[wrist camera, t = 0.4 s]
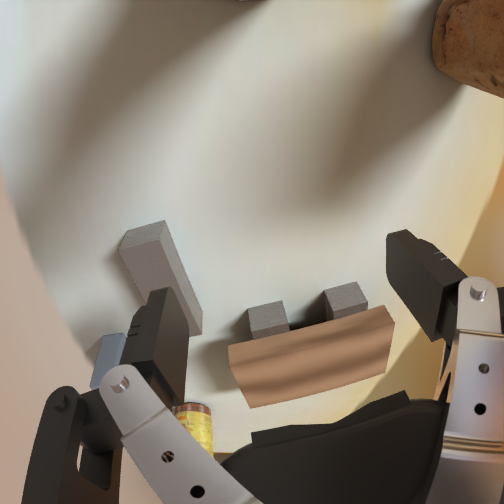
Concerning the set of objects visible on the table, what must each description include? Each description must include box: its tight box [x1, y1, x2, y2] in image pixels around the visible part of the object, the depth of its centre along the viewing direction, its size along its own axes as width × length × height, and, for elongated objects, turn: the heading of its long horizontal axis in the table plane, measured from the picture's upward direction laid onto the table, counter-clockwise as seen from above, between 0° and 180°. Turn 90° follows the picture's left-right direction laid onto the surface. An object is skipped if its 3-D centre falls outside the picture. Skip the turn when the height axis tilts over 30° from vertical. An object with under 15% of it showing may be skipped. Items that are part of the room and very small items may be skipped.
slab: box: [228, 305, 395, 409], centre depth 34 cm, size 10×18×3 cm, turn 103°
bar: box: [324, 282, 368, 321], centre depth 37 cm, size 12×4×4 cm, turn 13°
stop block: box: [90, 333, 126, 390], centre depth 35 cm, size 12×3×8 cm, turn 12°
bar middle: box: [248, 300, 290, 340], centre depth 37 cm, size 12×4×4 cm, turn 13°
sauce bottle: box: [175, 403, 213, 457], centre depth 39 cm, size 7×6×20 cm
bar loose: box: [118, 220, 202, 337], centre depth 30 cm, size 12×4×4 cm, turn 13°
